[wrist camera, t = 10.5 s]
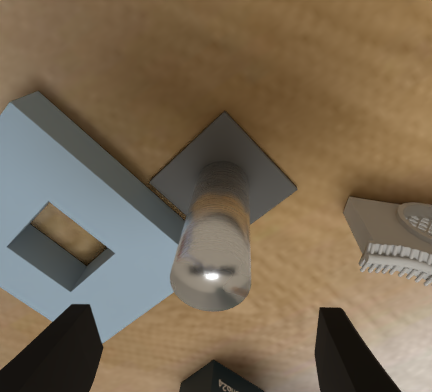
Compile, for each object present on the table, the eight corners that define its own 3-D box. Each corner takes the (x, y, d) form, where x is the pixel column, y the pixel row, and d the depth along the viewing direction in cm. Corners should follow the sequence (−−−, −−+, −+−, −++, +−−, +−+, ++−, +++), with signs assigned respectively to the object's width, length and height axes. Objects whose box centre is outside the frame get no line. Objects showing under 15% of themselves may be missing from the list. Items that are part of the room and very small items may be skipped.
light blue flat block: (-51, 210, 23) (-83, 231, 20) (38, 90, 18) (9, 102, 16) (106, 320, 26) (94, 349, 24) (209, 243, 22) (206, 268, 20)
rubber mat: (150, 180, 20) (149, 182, 20) (224, 110, 18) (224, 112, 18) (221, 243, 22) (220, 246, 22) (296, 187, 20) (297, 189, 20)
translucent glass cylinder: (199, 209, 21) (176, 311, 14) (193, 162, 19) (163, 250, 12) (250, 207, 20) (252, 311, 13) (247, 159, 19) (249, 247, 12)
